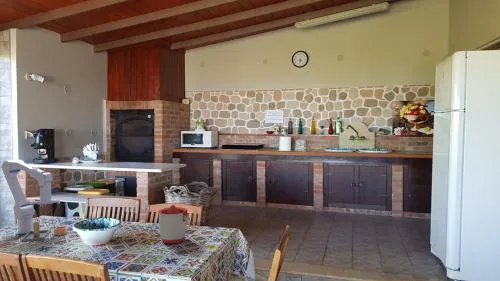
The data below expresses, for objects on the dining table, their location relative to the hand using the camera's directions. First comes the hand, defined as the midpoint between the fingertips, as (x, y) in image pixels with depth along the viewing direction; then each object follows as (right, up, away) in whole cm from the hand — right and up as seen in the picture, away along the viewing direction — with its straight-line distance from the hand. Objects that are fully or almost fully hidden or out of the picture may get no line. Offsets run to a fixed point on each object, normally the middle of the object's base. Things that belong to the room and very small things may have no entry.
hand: (46, 216), depth 210 cm
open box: (+9, -10, 0) cm, 13 cm away
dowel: (-2, -10, -6) cm, 12 cm away
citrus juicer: (+77, -11, -11) cm, 79 cm away
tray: (-2, -11, -6) cm, 12 cm away
